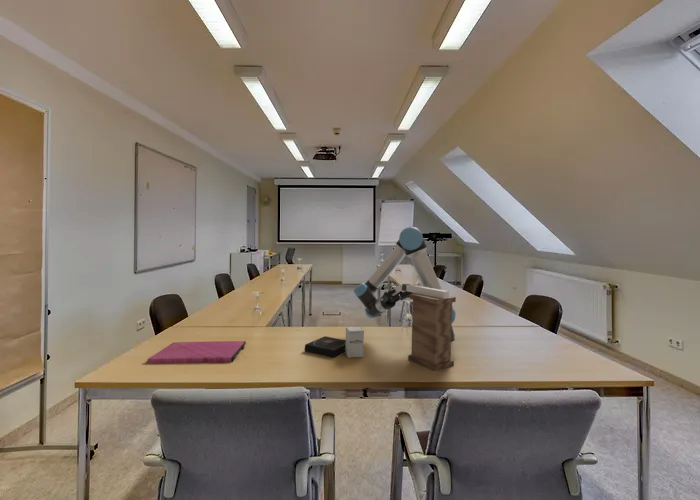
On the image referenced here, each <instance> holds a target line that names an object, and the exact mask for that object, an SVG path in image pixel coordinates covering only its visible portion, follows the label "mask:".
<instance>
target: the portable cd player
mask: <svg viewBox="0 0 700 500" xmlns="http://www.w3.org/2000/svg"><path fill="white" fill-rule="evenodd" d="M345 349H346V339H341V338H336V337H331V336H325V335H324V336H323V337H319V338H318V339H315V340H313V341H310V342H308V343H305V345H304V352H305V353H309V354H314V355H319V356H323V357H327V358H331V359H335V358H338V357H339V356H341V355H343V354H344V352H345ZM342 353H343V354H342Z"/></svg>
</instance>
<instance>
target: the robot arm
mask: <svg viewBox="0 0 700 500" xmlns="http://www.w3.org/2000/svg"><path fill="white" fill-rule="evenodd" d="M427 249H428V246H427V243H426V241H425V239H424V236H423V232H422V231H421V230H420V229H418V227H414V226H408V227H406V228H403V229H402V230H401V232H400V234H399V238H398V241H397V242H396V243H395V247H393V249H392V251H390V253H388V255H387V256H386V258H385V259H384V260H383V261H382V262H381V264H380V265H379V266H378V267H377V269H376V270H374V272H373V273H372V275H371V276H370V277H369V278H368V280H367V281H366V282H361V283H360V284H359V285H357V286H356V287H355V288H354V289H353V293H354V294H355V296H356V297H357V298H358V300H359V301H360V302H361V304H363V305H362V306H364V313H365V315H366V316H367V318H370V319H375V318H378V317H379V316H381V315H382V314H384V313H386V312H387V311H389V310H390V309H392V308H394V307H395V306H396V303H397V302H399V301H403V300H405V299H408V298H410V294H415V293H413V292H408V291H403V290H402V285H401V284H399V285H397V286H396V287H393V289H391V290H388V291H384V293H383V294H382V296H380V297H379V298H376V296H375V295H374V294H375V293H376V292H377V290H378V289H379V288H380V287H381V286H382V285H383V283H384V282H385V281H386V280H387V278H388V277H390V275H391V274H392V272H393V271H394V270H395V269H396V268H397V267H398V265H400V263H401V262H402V261H403V259H404V258H405V257H408V258H409V259H410V260H411V262H412V266H413V267H414V270H415V272H416V274H417V277H418V280H419V282H420V283H418V284H417V285H416V286H422V287H428V288H434V289H439V290H443V288H442V286H441V284H440V282H439V279H438V277H437V275H436V272H435V270H434V268H433V266H432V263H431V261H430V260H431V259H430V258H429V256H428V253H427ZM402 291H403V292H402ZM453 303H454V302H452V304H453ZM455 320H456V310H455V309H454V307H453V306H452V324H453V323H454V322H455ZM455 335H456V334H455V332H454V328H453V326H452V327H451V342H452V341H454V340H455V338H456V337H455Z"/></svg>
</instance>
